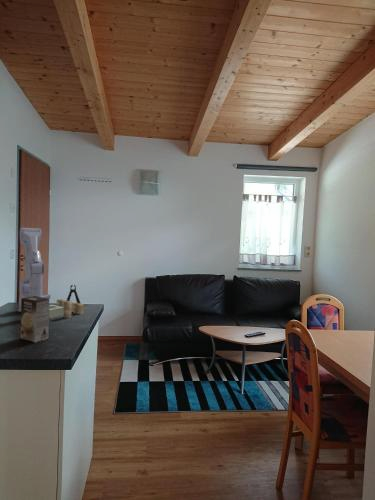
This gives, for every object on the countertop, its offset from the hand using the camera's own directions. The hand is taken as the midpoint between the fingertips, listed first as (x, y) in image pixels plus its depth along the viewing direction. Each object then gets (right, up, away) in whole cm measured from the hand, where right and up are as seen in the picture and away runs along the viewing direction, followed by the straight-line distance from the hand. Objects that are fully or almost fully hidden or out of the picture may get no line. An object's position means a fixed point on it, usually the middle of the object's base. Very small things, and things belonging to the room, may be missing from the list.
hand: (35, 315), depth 155 cm
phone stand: (+8, -1, +29) cm, 30 cm away
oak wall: (+10, -1, +17) cm, 20 cm away
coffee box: (+13, -3, -29) cm, 32 cm away
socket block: (+4, -1, +7) cm, 8 cm away
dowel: (+14, -2, +4) cm, 15 cm away
